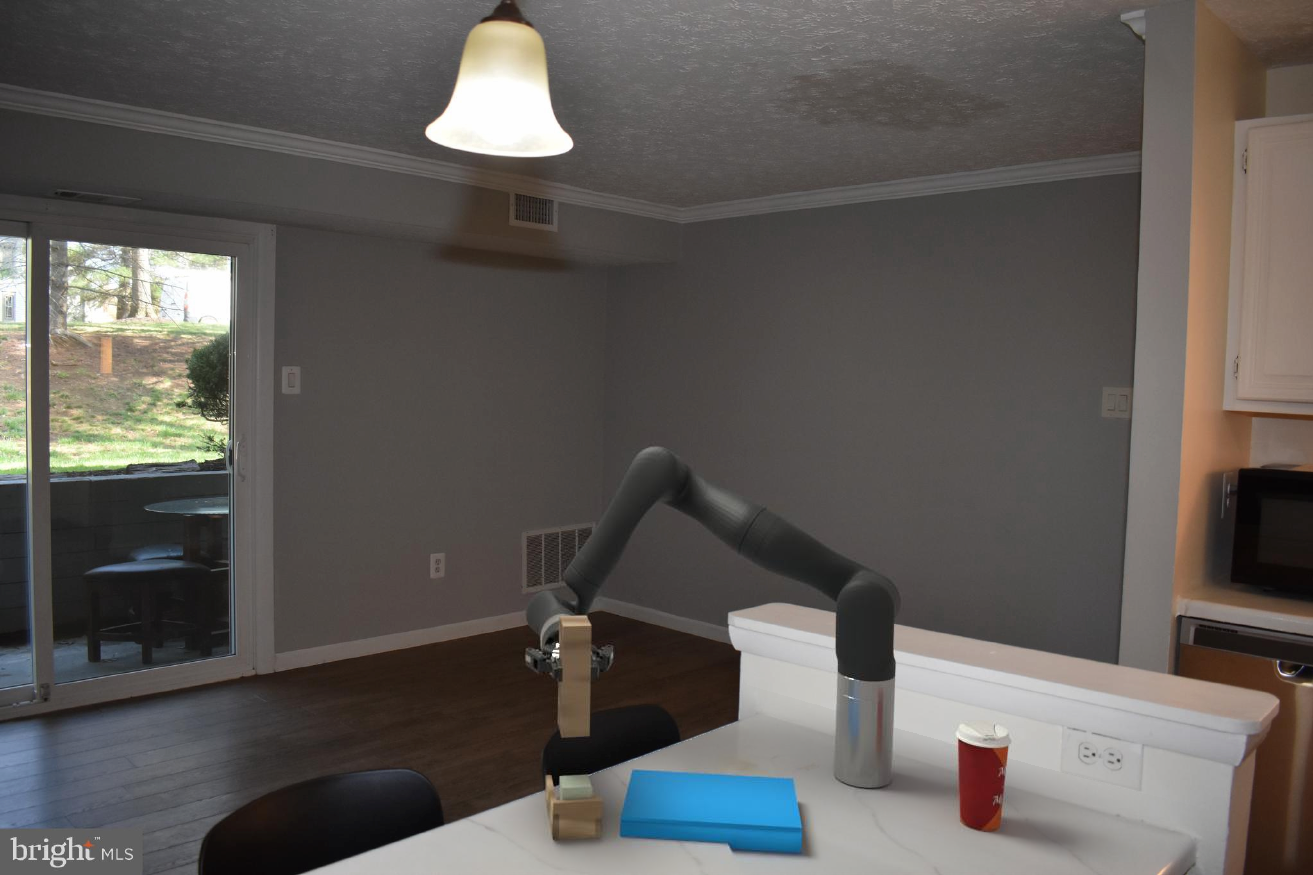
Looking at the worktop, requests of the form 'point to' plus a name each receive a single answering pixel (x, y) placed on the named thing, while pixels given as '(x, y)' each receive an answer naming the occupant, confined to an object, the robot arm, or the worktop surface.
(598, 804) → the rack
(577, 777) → the offcut upper
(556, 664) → the robot arm
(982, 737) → the paper cup
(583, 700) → the tall wooden block
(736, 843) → the book
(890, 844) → the worktop surface
